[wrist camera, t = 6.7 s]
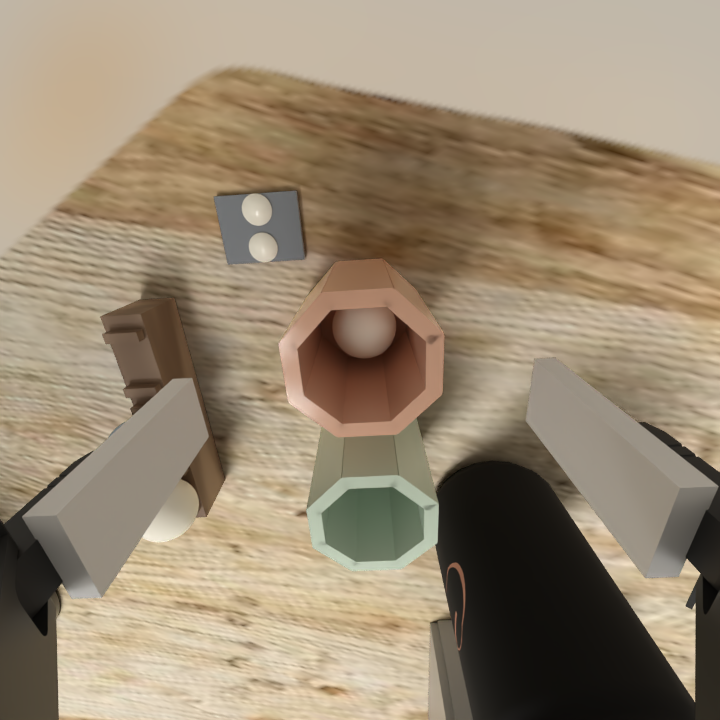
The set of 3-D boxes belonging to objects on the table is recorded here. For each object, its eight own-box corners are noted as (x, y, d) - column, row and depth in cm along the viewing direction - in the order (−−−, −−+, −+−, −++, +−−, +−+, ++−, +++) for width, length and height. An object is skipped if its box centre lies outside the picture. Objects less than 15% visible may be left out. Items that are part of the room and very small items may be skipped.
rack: (197, 480, 31) (171, 524, 26) (140, 299, 24) (93, 319, 20) (225, 479, 31) (203, 523, 26) (174, 297, 24) (134, 317, 20)
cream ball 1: (161, 509, 27) (129, 557, 23) (145, 466, 25) (107, 511, 21) (213, 506, 26) (189, 555, 23) (200, 464, 25) (172, 509, 21)
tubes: (273, 474, 30) (240, 575, 22) (216, 196, 22) (125, 191, 13) (416, 467, 30) (436, 567, 22) (415, 182, 21) (450, 167, 13)
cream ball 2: (335, 346, 25) (334, 371, 21) (330, 289, 23) (327, 307, 19) (392, 341, 25) (401, 366, 21) (391, 285, 23) (399, 301, 20)
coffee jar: (411, 475, 30) (469, 799, 14) (536, 438, 29) (772, 754, 12) (445, 556, 34) (523, 882, 18) (557, 527, 33) (757, 856, 16)
